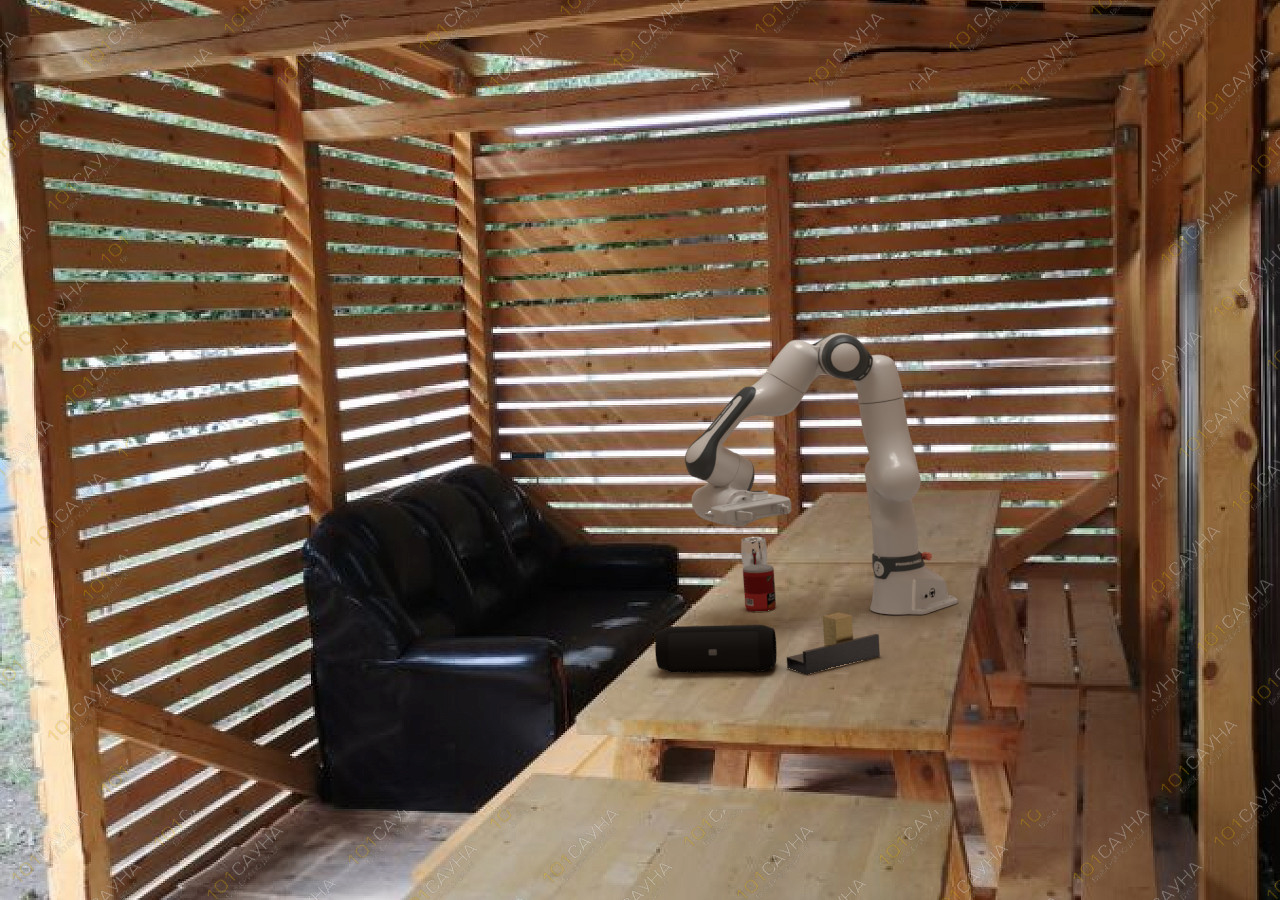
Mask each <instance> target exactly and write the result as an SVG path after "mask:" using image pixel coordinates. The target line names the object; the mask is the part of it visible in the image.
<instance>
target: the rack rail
mask: <svg viewBox="0 0 1280 900" xmlns="http://www.w3.org/2000/svg"><path fill="white" fill-rule="evenodd" d="M880 653H881V652H880V635H879V634H878V633H873V634H869V635H865V636H861V637H856V638H853V639H852V640H848V641H844V642H839V643H835V644H831V645H827V646H824V645H823V646H818V647H816V648H815V647H814V648H811V649H806V650H803V651H802V653H799V654H795V655H791V656H786V668H790V669H793V670H796V671H798V672H797V673H799V672H801V673H800V674H802V673H804V674H803V675H805V674H807V675H806V676H809V675H808V674H810V673H814V672H818V671H821V670H825V669H828V668H831V667H836V666H840V665H844V664H849V663H853V662H857V661H861V660H865V661H868V660H867V659H869V660H872V659H871V658H873V659H876V658H875V657H877V658H880V657H881V655H880ZM879 656H880V657H879ZM861 662H862V661H861ZM857 663H858V662H857ZM853 664H854V663H853ZM849 665H850V664H849ZM790 669H789V670H790ZM793 670H792V671H793ZM796 671H795V672H796ZM825 671H826V670H825ZM818 673H819V672H818ZM814 674H815V673H814ZM810 675H811V674H810Z"/></svg>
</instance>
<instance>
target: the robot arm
mask: <svg viewBox="0 0 1280 900" xmlns="http://www.w3.org/2000/svg"><path fill="white" fill-rule="evenodd" d="M822 375H827V376H829V377H832V378H834V379H839V380H849V381H852V382H853V384H854V385H855V389H856V392H857V403H858V407H859V415H860V422H861V423H860V424H861V428H862V435H863V437H864V442H865V444H866V445H865V446H866V447H867V448H866V449H867V453H868V456H869V460H868V461H867V463H866V465H865V467H864V477H865V486H866V494H867V501H868V507H869V508H868V509H869V513H870V519H871V531H872V532H871V533H872V545H873V546H872V548H873V553H872V555H871V558H872V560H871V562H872V563H871V564H872V565H871V566H872V567H871V568H872V570H873V574H874V575H873V585H872V586H873V589H872V597H871V602H870V607H869V610H870V611H872V612H873V613H878V614H881V615H882V614H885V615H926V614H929V613H931V612H935V611H938V610H941V609H944V608H947V607H950V606H954V605H956V604H958V603H959V599H958V598H957V597H955V596H953V595H951V594H949V593H948V592H949V591H948V587H947V586H948V585H947V583H946V580H945V579H944V578H943V577H942V576H941V575H939V574H938V573H936V571H935V572H934V570H932V569H930V568H929V567H927V566H926V563H925V561H924V560H926V561H932V558H933V554H932V553H931V552H927V551H924V552H921V551H919V539H918V534H919V533H918V521H917V517H916V513H915V507H914V504H913V503H914V502H913V498H914V497H915V496H916V495H917V494H918V492H919V490H920V488H921V483H922V481H921V479H922V478H921V474H920V472H919V471H920V470H919V467H918V463H917V458H916V454H915V450H914V446H913V442H912V438H911V435H910V431H909V426H908V425H909V424H908V419H907V411H906V405H905V398H904V391H903V386H902V382H901V378H900V375H899V371H898V368H897V366H896V362H895V361H894V360H893V358H891V357H889V356H887V355H883V354H872V355H871V353H870V351H869V350H868V349H867V348H866V347H865V344H863V343H862V342H861V341H860V340H859V339H858V338H857V337H855V336H853V335H851V334H849V333H844V332H838V333H832V334H829V335H827V336H825V337H823V338H822V339H820V340H818V341H817V342H815V343H813V344H810V343H809V342H807V341H805V340H800V339H794V340H793V339H792V340H790V341H789V342H788V343H786V344H785V346H784V347H782V348H781V350H780V351H779V352H778V354H777V355H776V356H775V357H774V359H773V361H772V362H771V363H770V364H769V366H768V368H767V369H766V371H765V372H764V374H763V375H762V377H761V378H760V379H759V380H758V381H756V382H755V383H754V384H752V385H750V386H744V387H743V388H741V389H740V390H739V391H738V392H737V393H735V395H734V397H732V398H731V400H730V401H729V402H728V403H727V405H726V406H724V408H723V409H722V410H721V412H720V413H719V414H718V415H717V417H716V418H715V419H714V420H713V421H712V423H711V424H710V425H709V426H708V427H707V429H706V430H705V431H704V432H703V433H702V434H701V435H700V436H699V437H698V438H697V439H695V440H694V441H693V442H692V443H691V444H690V445H689V447H688V448H687V450H686V451H685V455H684V462H685V467H686V470H687V472H688V474H689V475H690V476H691V477H693V478H696V479H699V480H700V481H704V482H707V483H706V484H705V485H703V486H702V487H699V488H697V489H696V490H695V491H694V492H693V494H692V496H691V505H692V506H691V507H692V509H693V511H694V512H695V514H696V515H697V516H698V517H700V518H701V519H703V520H706V521H709V522H713V523H715V524H718V525H724V526H725V525H727V526H733V527H738V528H739V527H745V526H746V525H748V524H750V523H751V524H752V523H753V522H755V521H759V520H761V519H764V518H766V519H767V518H770V517H776V516H781V515H782V516H783V515H788V514H790V513H791V512H792V501H791V499H790V497H787V496H784V495H779V494H775V493H769V491H768V490H752V488H753V485H754V483H755V468H754V465H753V463H752V461H751V460H750V459H748V458H747V457H744V456H743V455H741V454H739V453H737V452H734V451H733V450H730V449H728V448H727V447H724V445H723V444H724V443H725V441H726V440H727V439H728V438H729V437H730V436H731V435H732V433H733V432H735V429H736V428H737V427H738V426H739V425H740V424H741V423H742V421H743V420H745V419H747V418H750V417H754V416H764V417H781V416H785V415H788V414H790V413H792V412H793V411H794V410H795V409H796V408H797V407H798V405H799V404H800V403H801V401H802V399H803V398H804V396H805V394H806V393H807V391H808V389H809V387H810V385H812V383H813V382H814V380H816V378H817V377H819V376H822Z"/></svg>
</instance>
